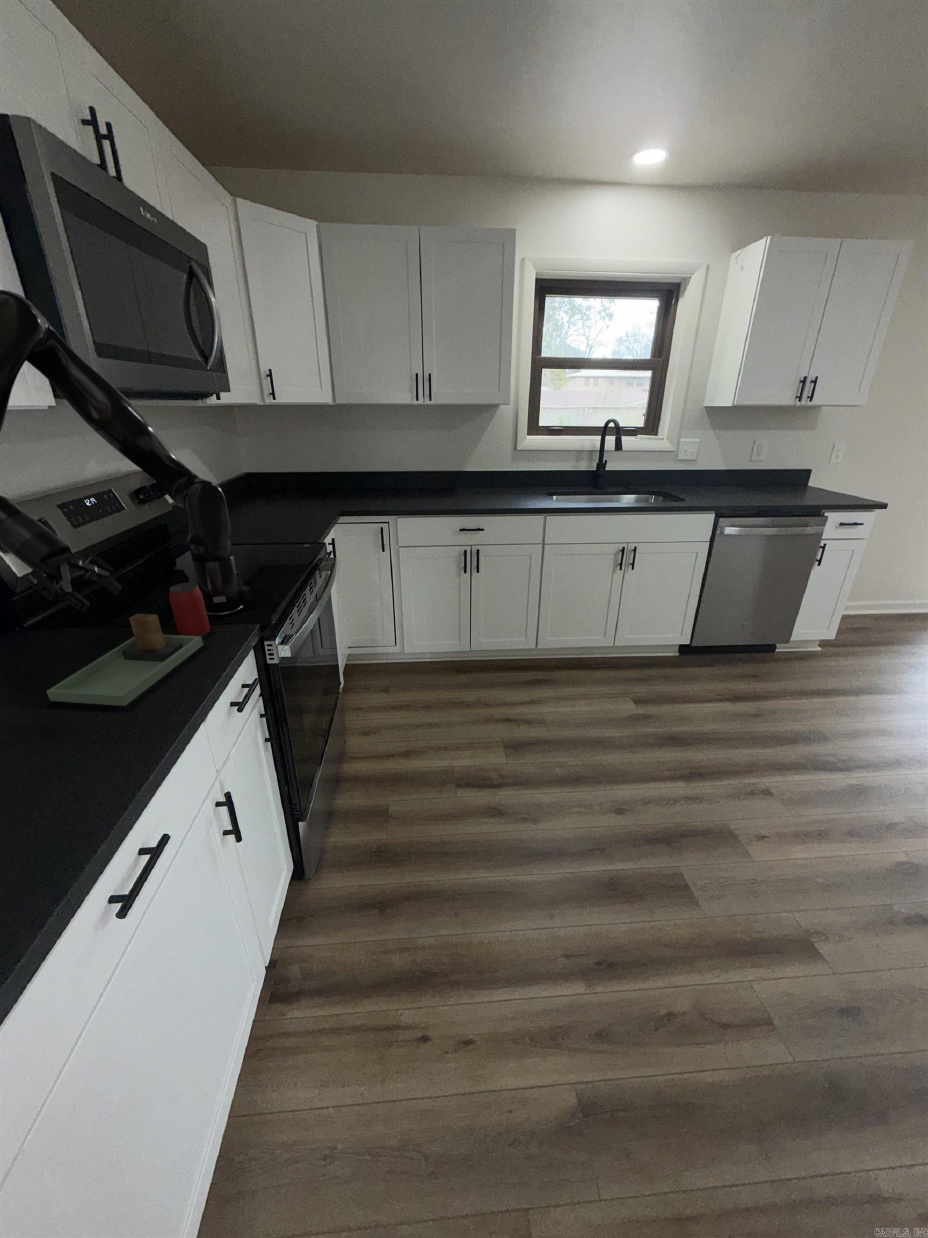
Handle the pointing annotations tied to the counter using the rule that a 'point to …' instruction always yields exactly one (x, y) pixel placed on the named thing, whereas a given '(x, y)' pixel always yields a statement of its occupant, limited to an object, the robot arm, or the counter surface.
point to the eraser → (149, 640)
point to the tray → (120, 675)
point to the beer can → (189, 610)
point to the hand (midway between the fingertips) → (104, 599)
